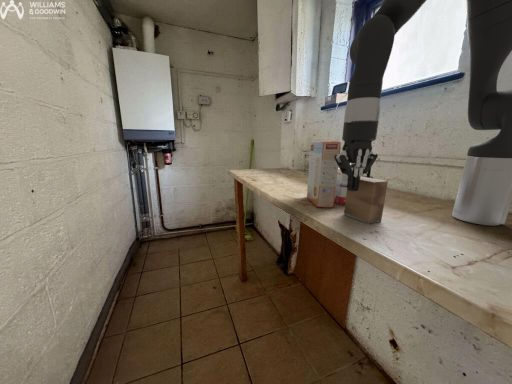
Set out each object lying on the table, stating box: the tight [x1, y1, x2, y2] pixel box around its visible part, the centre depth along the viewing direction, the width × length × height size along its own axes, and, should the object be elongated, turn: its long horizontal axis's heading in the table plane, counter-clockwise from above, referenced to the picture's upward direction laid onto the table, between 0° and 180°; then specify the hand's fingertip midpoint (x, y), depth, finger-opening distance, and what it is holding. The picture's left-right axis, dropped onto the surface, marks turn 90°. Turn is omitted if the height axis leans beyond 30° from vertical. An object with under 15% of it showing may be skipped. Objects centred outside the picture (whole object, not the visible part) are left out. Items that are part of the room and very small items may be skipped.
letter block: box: [343, 176, 389, 225], centre depth 56 cm, size 5×8×11 cm, turn 23°
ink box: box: [334, 167, 348, 205], centre depth 72 cm, size 9×5×12 cm, turn 179°
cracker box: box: [306, 140, 342, 209], centre depth 70 cm, size 14×6×21 cm, turn 179°
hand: (352, 190), depth 53 cm, fingers closed
